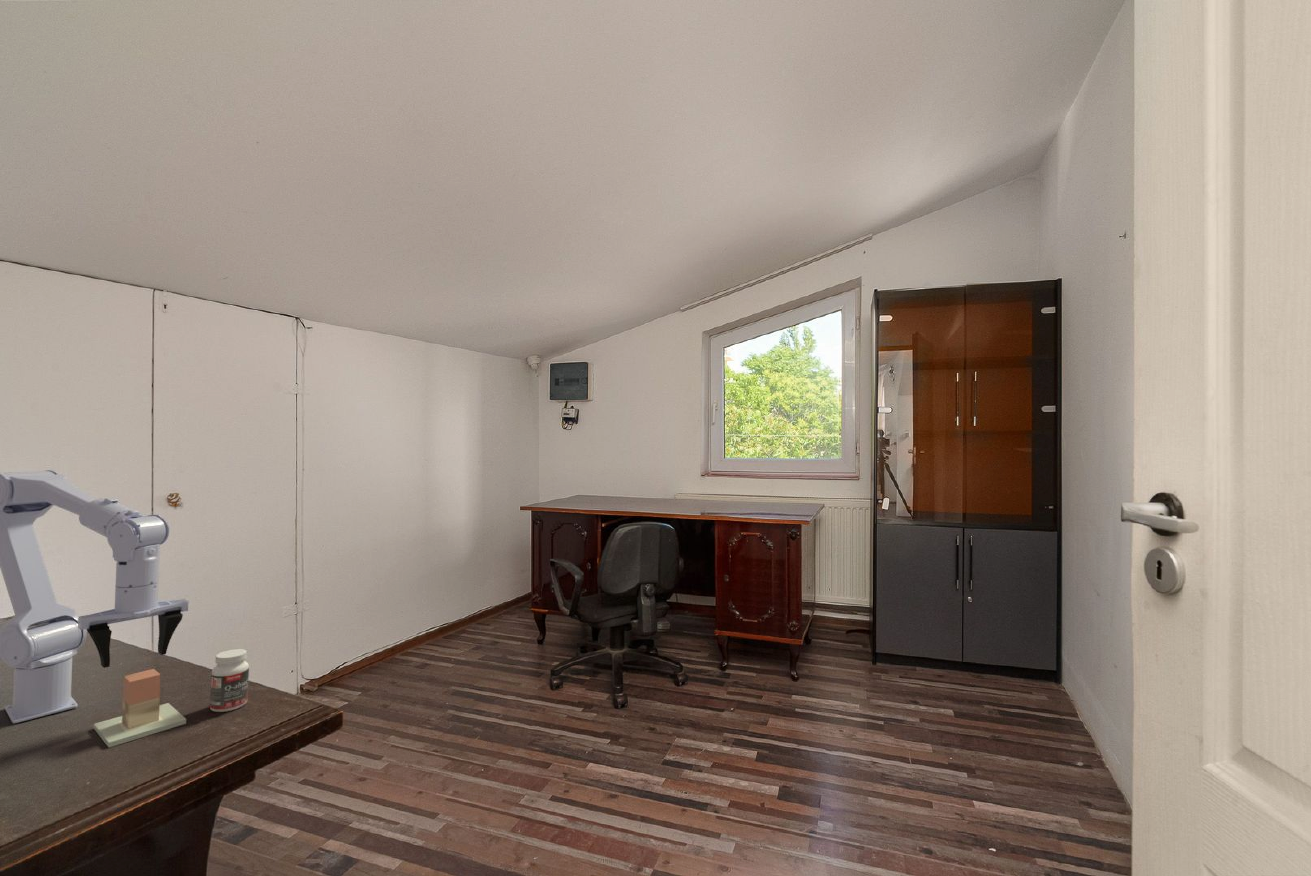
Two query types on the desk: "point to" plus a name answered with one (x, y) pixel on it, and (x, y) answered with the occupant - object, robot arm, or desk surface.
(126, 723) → the beech cube
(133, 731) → the board
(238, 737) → the desk surface
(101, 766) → the desk surface
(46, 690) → the robot arm
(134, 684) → the terracotta cube
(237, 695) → the pill bottle
